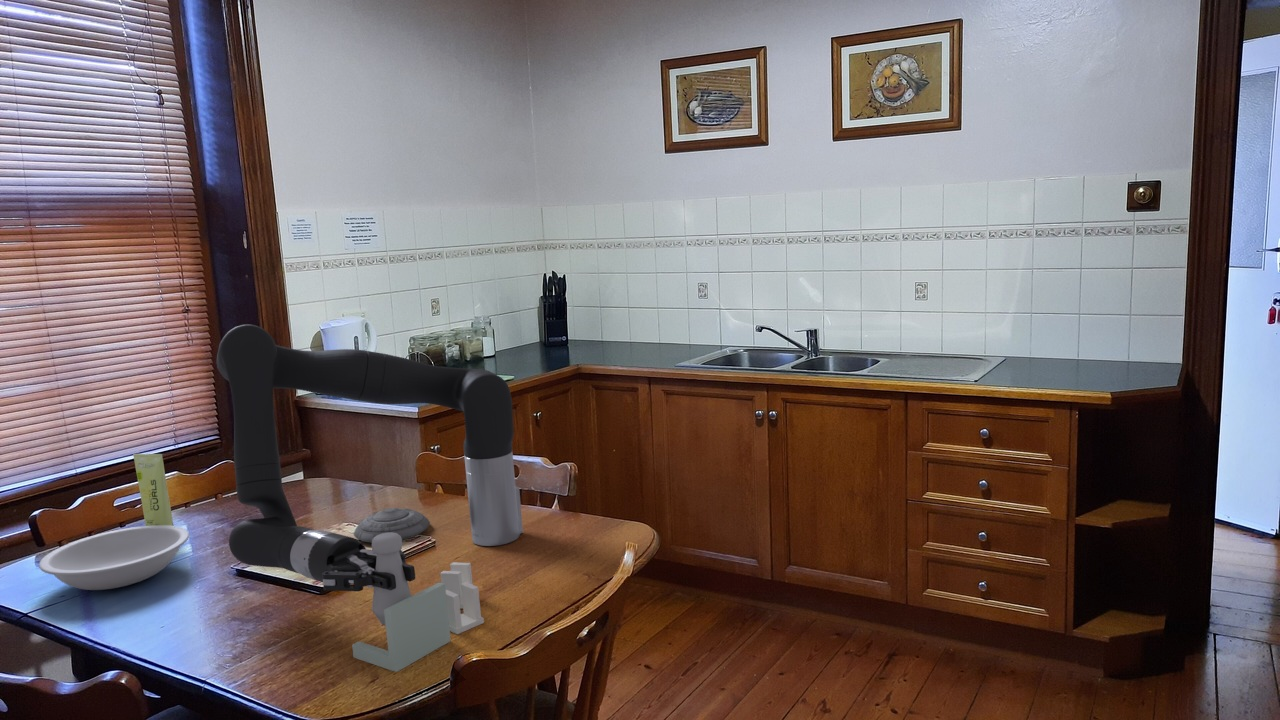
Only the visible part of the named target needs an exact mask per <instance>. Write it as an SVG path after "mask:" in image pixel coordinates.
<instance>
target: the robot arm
mask: <svg viewBox="0 0 1280 720" xmlns="http://www.w3.org/2000/svg"><path fill="white" fill-rule="evenodd" d="M216 367H217V371H218V372H219V373H220V375H221V376H222V377H223V379H225V380H226V381H227V382H228V383H229V386H230V390H231V392H230V393H231V398H232V407H233V420H234V421H233V430H234V431H233V457H234V458H233V461H234V474H235V488H236V495H237V500H238V502H240V503H241V504H243V505H244V506H251V507H255V508H257V509H259V511H260V512H261V515H262V516H263V517H262V518H251V519H245V520H242V521H240V522H239V523H238V524H236V525H235V526H234V527H233V529H232V530H231V532H230V534H229V538H228V546H229V550H230V552H231V554H232V556H233V557H234V558H235V559H236V560H237V561H239V562H241V563H242V564H245V565H249V566H255V567H265V568H279V569H284V570H286V571H289V572H293V573H295V574H299V575H301V576H304V577H306V578H307V579H310V580H314V581H317V582H320V583H323V590H324V591H332V592H333V591H335V592H336V591H337V592H339V591H340V592H361V591H363V590H364V587H366V588H368V589H372V588H373V589H374V587H375V586H376V587H379V588H383V589H387V590H393V589H395V588H396V579H395V576H394V574H391V573H387V572H378V571H375V570H376V559H377V554H375V553H373V551H372V549H369V548H366V547H365V546H364V544H363V543H362V542H361V540H359V539H357V538H356V537H352V536H349V535H345V534H344V535H343V534H340V533H336V532H332V531H328V530H324V529H323V530H318V529H313V528H309V527H306V526H301V525H298V524H297V522H296V519H295V517H294V515H293V512H292V509H291V507H290V505H289V504H290V503H289V502H288V499H287V496H286V494H285V492H284V487H283V481H282V478H283V477H282V469H281V461H280V452H279V444H278V436H277V428H276V421H275V409H274V408H275V406H274V389H285V390H286V389H288V390H289V389H290V390H298V391H306V392H310V393H313V394H319V395H324V396H329V397H334V398H341V399H347V400H353V401H358V402H365V403H372V404H379V405H381V404H382V405H409V404H430V405H435V406H440V407H445V408H450V409H454V410H457V411H460V412H463V417H464V426H465V427H464V428H465V429H464V430H465V439H464V441H463V455H464V457H463V458H464V465H465V477H466V487H467V497H468V498H467V499H468V509H469V510H468V511H469V518H470V519H469V521H470V527H471V528H470V529H471V530H470V531H471V538H472V543H474V544H475V545H478V546H483V547H491V546H492V547H495V546H502V545H507V544H510V543H512V542H514V541H516V540H517V539H519V537H520V535H521V534H523V533H524V529H523V518H522V509H521V508H522V507H521V506H522V504H521V495H520V487H519V485H516V477H515V476H516V475H515V467H514V466H515V465H514V454H513V440H514V434H515V433H514V414H513V411H514V410H513V400H512V394H511V389H510V387H509V384H508V383H507V381H505V380H504V379H503V377H501V376H499V375H498V374H495V372H494V373H493V372H491V371H490V370H486V369H481V368H478V369H477V368H461V367H460V368H458V367H457V368H456V367H445V366H437V365H432V364H428V363H424V362H422V361H417V360H414V359H413V360H412V359H409V358H406V357H400V356H397V355H392V354H386V353H382V352H378V351H370V350H365V349H353V348H352V349H351V348H350V349H348V348H347V349H345V348H344V349H343V348H341V349H327V350H326V349H325V350H301V349H295V348H290V347H286V346H281V345H277V344H276V342H275V340H274V339H273V337H272V335H271V334H270V333H269V332H268V331H267V330H265V328H263V327H260V326H258V325H255V324H240V325H238V326H235V327H233V328H232V329H231V328H230V330H229V331H227V332H226V333H225V334H224V336H223V337H222V339H221V340H220V343H219V345H218V350H217V354H216ZM399 553H400V556H401V560H402V563H403V565H402V567H403V571H404V575H405V578H406V581H408V582H412V581H414V580H416V572H415V566H414V565H412V564H408V563H406V553H405V552H403V550H402V549H401V550H400V551H399Z"/></svg>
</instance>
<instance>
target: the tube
mask: <svg viewBox="0 0 1280 720" xmlns="http://www.w3.org/2000/svg"><path fill="white" fill-rule="evenodd" d="M163 457H164V456H163V454H162V453H152V454H151V453H147V454H146V453H133V460H134V461H133V462H134V466H135V471H136V472H135V473H136V477H137V483H138V484H137V485H138V489H139V494H140V500H141V505H142V506H141V507H142V512H143V517H144V519H143V520H144V526H152V525H169V526H175V525H174V521H173V514H172V508H171V507H172V506H171V503H170V502H171V501H170V497H169V490H168V484H167V483H168V482H167V478H166V472H165V465H164V459H163Z"/></svg>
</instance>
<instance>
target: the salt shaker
mask: <svg viewBox="0 0 1280 720" xmlns="http://www.w3.org/2000/svg"><path fill="white" fill-rule="evenodd" d="M402 548H403V540H402V538H401V536H400V535H399V534H397V533H393V532H390V533H382V534H379V535H377V536H375V537H374V538H373V539H372V543H371V550H372V551H373V553H375V554H377V559H376V570H375V571H378V572H387V573H391V574H394V576H395V579H396V588H395V589H393V590H387V589H383V588H379V587H376V586H375V587H373V593H372V604H371V609H372V610H371V611H372V612H373V614H374V616H375V617H376V618H377V619H378V621H379V622H380V623H381V626H385V627H386V625H385V616H384V609H386V608H388V607H390V606H392V605H395V604H397V603H399V602H401V601H403V600H405V599H407V598H409V597H411V596H412V593H411V589H410V585H409V581H406V578H405V575H404V571H403V567H402V565H403V563H402V560H401V556H400V553H399V551H400V550H401V551H402Z"/></svg>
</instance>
